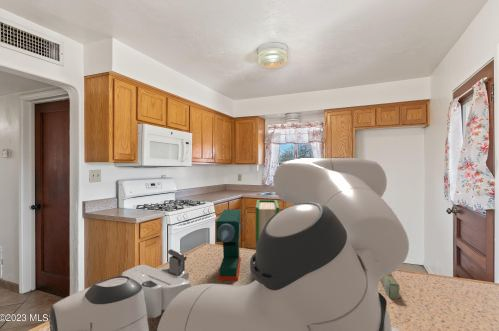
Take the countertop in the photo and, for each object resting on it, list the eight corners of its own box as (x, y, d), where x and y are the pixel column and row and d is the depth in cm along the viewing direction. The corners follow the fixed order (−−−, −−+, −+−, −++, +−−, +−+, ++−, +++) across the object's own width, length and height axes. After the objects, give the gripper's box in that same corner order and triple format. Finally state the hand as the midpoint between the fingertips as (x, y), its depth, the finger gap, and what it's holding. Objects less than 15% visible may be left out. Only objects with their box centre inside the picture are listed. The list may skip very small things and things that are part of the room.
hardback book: (279, 283, 84) (279, 207, 84) (255, 283, 85) (255, 207, 85) (276, 262, 102) (276, 200, 102) (257, 262, 102) (257, 200, 102)
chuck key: (192, 305, 70) (191, 254, 70) (178, 310, 68) (178, 258, 68) (175, 294, 76) (175, 247, 76) (162, 298, 74) (162, 250, 74)
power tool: (236, 301, 73) (236, 228, 73) (211, 301, 73) (210, 228, 73) (242, 260, 105) (242, 209, 105) (224, 259, 105) (224, 209, 105)
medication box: (399, 300, 74) (400, 285, 74) (389, 298, 75) (389, 284, 75) (388, 281, 86) (388, 269, 86) (379, 280, 86) (379, 268, 86)
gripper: (109, 293, 68) (156, 274, 79) (160, 320, 56) (206, 294, 67) (109, 268, 68) (156, 253, 79) (160, 290, 56) (206, 269, 67)
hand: (180, 272), depth 73 cm, fingers closed on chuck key, 4 cm apart
